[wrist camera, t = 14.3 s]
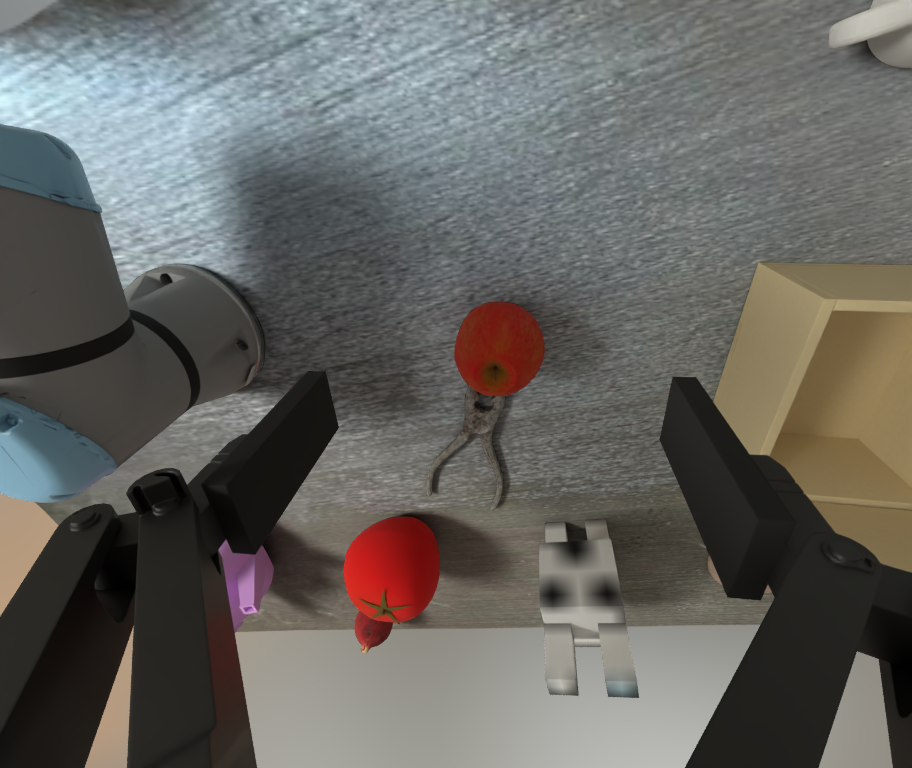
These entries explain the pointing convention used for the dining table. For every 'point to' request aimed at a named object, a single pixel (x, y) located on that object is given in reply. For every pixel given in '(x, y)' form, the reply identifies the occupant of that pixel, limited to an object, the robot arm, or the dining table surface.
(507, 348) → the apple
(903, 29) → the cup
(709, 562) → the pink plate
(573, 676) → the toy llama
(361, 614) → the onion
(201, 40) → the dining table surface
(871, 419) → the chest
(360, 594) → the tomato
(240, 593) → the teapot
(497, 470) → the pliers
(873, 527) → the lid
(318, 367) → the dining table surface
